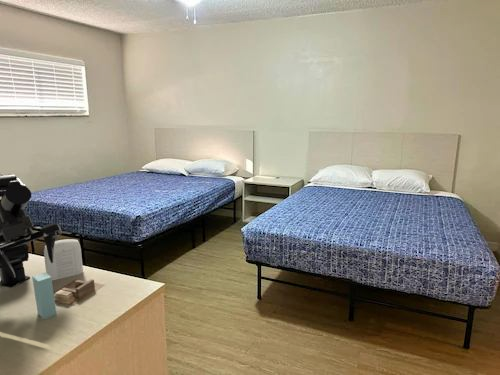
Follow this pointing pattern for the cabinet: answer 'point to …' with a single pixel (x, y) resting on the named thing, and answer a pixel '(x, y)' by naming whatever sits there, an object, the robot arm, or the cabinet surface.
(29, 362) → the cabinet surface
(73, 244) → the photo printer
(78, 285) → the rack
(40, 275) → the teal rectangular block
